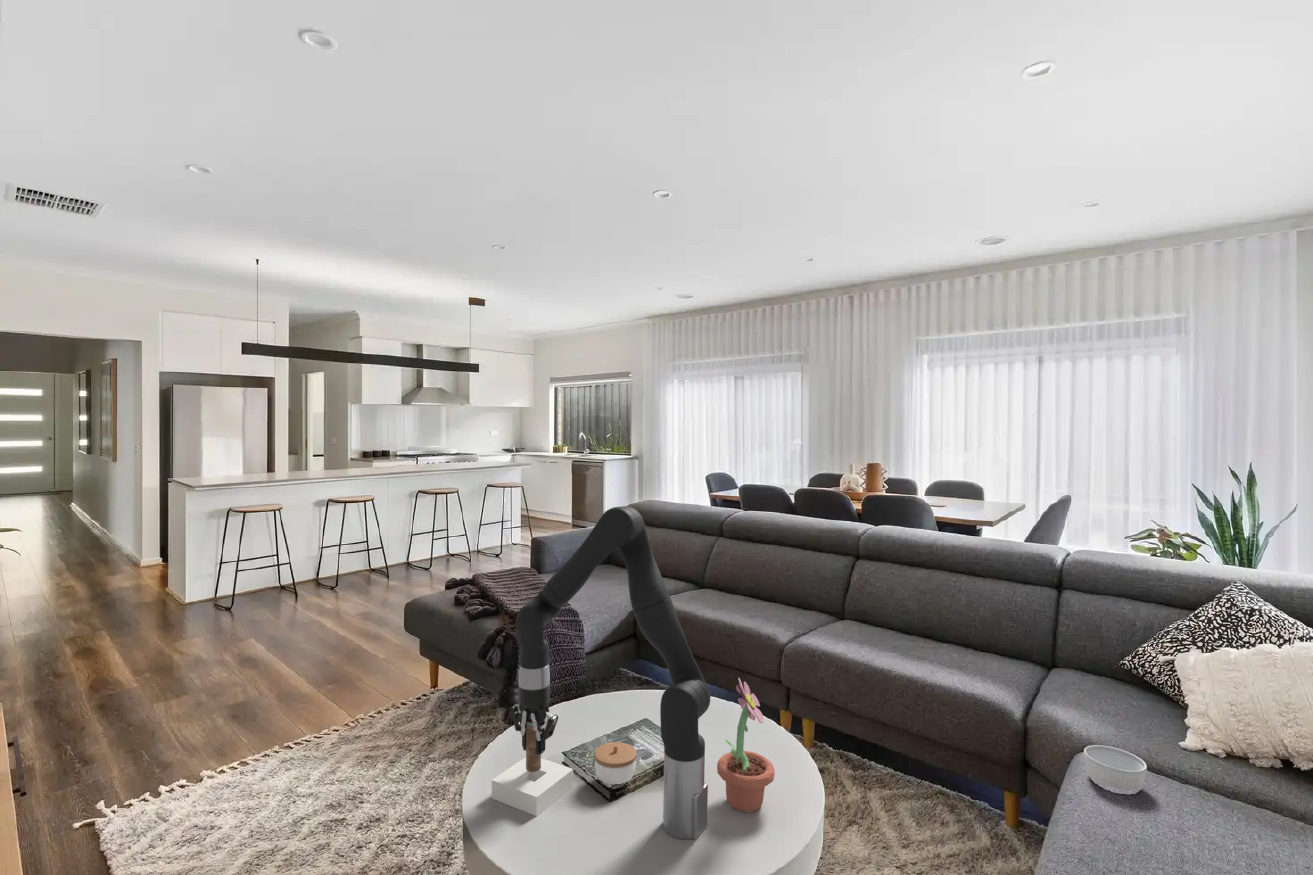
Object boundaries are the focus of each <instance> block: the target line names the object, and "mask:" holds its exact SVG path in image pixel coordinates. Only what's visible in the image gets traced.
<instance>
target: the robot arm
mask: <svg viewBox="0 0 1313 875" xmlns="http://www.w3.org/2000/svg"><path fill="white" fill-rule="evenodd" d="M617 549H619V552H620V554H621V556H622V558H623V561H624V564H625V568H626V571H627V572H626V573H627V579H628V582H627V583H628V593H629V599H630V605H631V608H632V611H633V613H634V616H635V619H636V622H637V626H638V628H639V629H640V632H641V633H642V635H643V636H644V638H645V639H646V640H647V641H648V643H649V644H650V645H651V646H652V647H653V648H654V649H655V650H656V652H658V653H659V655H660V656H661V657H662V659H663V660H664V663H665V665H666V667H667V671H668V673H669V675H670V678H671V682H672V684H671V685H670V686H669V687H667V688H666V689H665V690H664V692H663V693H662V695H661V699H660V709H659V710H660V712H659V714H660V715H659V716H660V718H659V719H660V737H661V741H662V743H663V803H662V805H663V807H662V808H663V812H662V813H663V814H662V820H663V822H662V824H663V827H662V828H663V830H664V831H665V832H666V833H667V834H668V835H669V836H672V837H674V838H677V839H684V840H685V839H692V840H697V839H698V838H699V836H700V835H701V833H703V831H704V830H706V828H707V826H708V800H709V799H708V798H709V797H708V794H709V792H708V791H709V790H708V789H709V785H708V784H707V783H705V764H706V763H705V762H706V761H705V759H706V758H705V755H706V754H705V753H706V742H705V739H704V737H703V735H701V734H699V719H700V718H701V717H702V716H703V715H704V714H705V713H706V712H707V711H708V709H709V707H710V705H711V692H710V689H709V686H708V684H707V681H706V680H705V677H704V675H703V673H702V672H701V670H700V668H699V665H698V664H697V662H696V659H695V658H694V656H693V653H692V650H691V649H690V646H689V644H688V640H687V638H686V635H685V633H684V630H683V628H682V625H681V623H680V620H679V618H678V615H677V612H676V609H675V607H674V606H675V605H674V604H673V600H672V598H671V597H670V594H669V592H668V589H667V586H666V583H665V580H664V578H663V576H662V573H661V572H660V569H659V567H658V564H657V561H656V560H655V557H654V555H653V551H652V547H651V544H650V540H649V536H648V532H647V528H646V525H645V522H644V519H643V517H642V515H641V513H640V512H639V511H638V510H637V509H635V508H634V507H631V506H627V505H625V506H623V505H622V506H613V507H610V508H609V509H607V510H606V511H604V512H603V514H602V515H601V516H600V518H599V519H598V521H597V522H596V524H595V525H594V527H593V528H592V530H591V531H590V532H589V535H587V537H586V538H585V540H584V541H583V542H582V544H581V545H580V546H579V548H578V549H577V550H576V551H575V552H574V554H572V555H571V557H570V558H568V560H567V561H566V562H565V563H564V564H563V565H561V567H559V569H558V570H557V571H556V572H555V573H554V574H553V575H552V576H551V577H550V578H549V579H548V581H547V582H546V583H545V584H544V586H543V588H542V590H540V592H539V593H538V594H537V595H536V596H535V597H534V598H532V599H531V600H530V601H528V603H526V604H525V605H523V606H522V607H520V608H519V610H518V611H517V614H516V618H515V629H516V630H515V631H516V636H517V641H518V645H519V670H518V698H517V700H518V703H516V704H514V705H513V706H511V707H510V708H509V710H510V715H511V718H512V719H511V720H512V723H513V726H514V730H515V731H516V732H520V735H521V746H522V750H523V751H525V752H526V721H527V720H528V721H531V722H533V728H534V731H535V732H536V737H537V740H536V754H537V755H541V756H542V754H543V753H544V752H545V751H546V740H548V739H549V738H551V737H552V736H553V734H554V732H555V729H556V726H557V723H558V720H559V716H558V714H554V715H553V714H552V713H551V712H550V708H549V701H550V693H551V692H550V686H551V685H550V683H551V682H550V681H551V680H550V678H551V675H550V673H551V672H550V647H549V646H550V645H549V642H548V641H547V639H545V637H544V628H545V627H546V626H547V625H548V624H550V623H551V621H552V620H553V619H554V618H555V617H556V615H557V614H558V613H559V612H560V611H561V609H562V608H563V607H564V606H565V605H567V603H568V602H570V600H572V599H573V598H574V597H575V595H576V594H577V593H578V592H579V591H580V590H581V589H582V588H583V587H584V585H586V583H587V581H588V580H589V579H590V577H591V576H592V574H593V572H594V571H595V570H596V568H597V567H598V566H599V565H600V564H601V562H603V561H604V559H605V558H607V557H608V556H610V554H612V553H614V552H615V551H616V550H617ZM539 724H541V725H540V726H538V725H539Z"/></svg>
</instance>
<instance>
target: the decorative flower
mask: <svg viewBox="0 0 1313 875" xmlns="http://www.w3.org/2000/svg"><path fill="white" fill-rule="evenodd" d="M738 684H739V685H738ZM738 684H737V685H736V688H735V689H736V691H737V693H738V694H739V695H740V696H741V697H742V698H741V697H739V698H737V701H738V704H739V706H740V708H741V710H742V711H741V713H740V717H739V721H738V724H737V729H736V731H737V732H736V740H735V742H736V746H735V745H734V744H733V743H731V741H730V740H728V739H726V738H725V739H724V740H725V742H726V743H727V744H728V745H729V746H730V747H732V748H731V749H730V752H727V753H725V754H723V755H722V756H721V757H720V758H719V759H718V761H717V763H716V767H717V768H716V772H717V774H718V776H719V777H720V778H721V780H723V781H724V782H725V795H726V796H725V797H726V801H727V802H728V805H729V806H730V807H731V808H733V809H735V810H737V811H740V812H743V813H744V812H745V813H752V812H755V811H758V810H759V809H760V808H761V807H762V806H763V801H764V797H765V796H764V795H765V789H766V788H765V787H768V786H769V785H770V784H771V783H773V782H774V779H775V776H776V772H775V767H774V765H773V763H772V762H771V761H770V760H769V758H766V757H765V756H764V755H761V754H760V753H757V752H754V751H749V750H744V748H745V747H744V745H745V733H748V732H749V731H748V730H749V728H748V726H747V722H748V718H749V719H751V720H752V721H756V719H757V721H758V722H759V723H760V724H763V723H764V722H765V721H764V715H763V713H762V712H761V710H760V709H759V708H758V707H760V706H761V704H760V701H759V699H758V698H757V696H756V694H754V693H751V689H750V686H749V685H748V683H747V682H746V681H743V683H742V680H741V679H740V677H738ZM751 811H752V812H751Z"/></svg>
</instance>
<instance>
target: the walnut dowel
mask: <svg viewBox="0 0 1313 875" xmlns="http://www.w3.org/2000/svg"><path fill="white" fill-rule="evenodd" d="M540 725H541V724H539V725H538V726H540ZM536 740H537V737H536V732H535V731H534V728H533V722H531V721H528V720H527V721H526V751H525V757H526V770H527V771H529V772H535V771H538V770H540V769H541V758H542V754H541V755H537V754H536Z"/></svg>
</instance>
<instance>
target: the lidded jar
mask: <svg viewBox="0 0 1313 875" xmlns="http://www.w3.org/2000/svg"><path fill="white" fill-rule="evenodd" d="M637 753H638V752H637V750H636V749H635V747H633V745H632V744H628V743H626V742H617V741H615V742H607V743H604V744H602V745H599V746H597V748H596V749H595V751H594V756H593V757H594V769H595V774H596V776H597V778H598V780H599V781H600V780H601V781H602V782H604V783H609V784H622V783H625V782H627V781H629V780H630V779H631V780H632V779H633V777H634V774H635V772H636V766H637V756H638V755H637ZM631 780H630V781H631ZM601 781H600V782H601ZM630 781H629V782H630ZM602 782H601V783H602Z"/></svg>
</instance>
